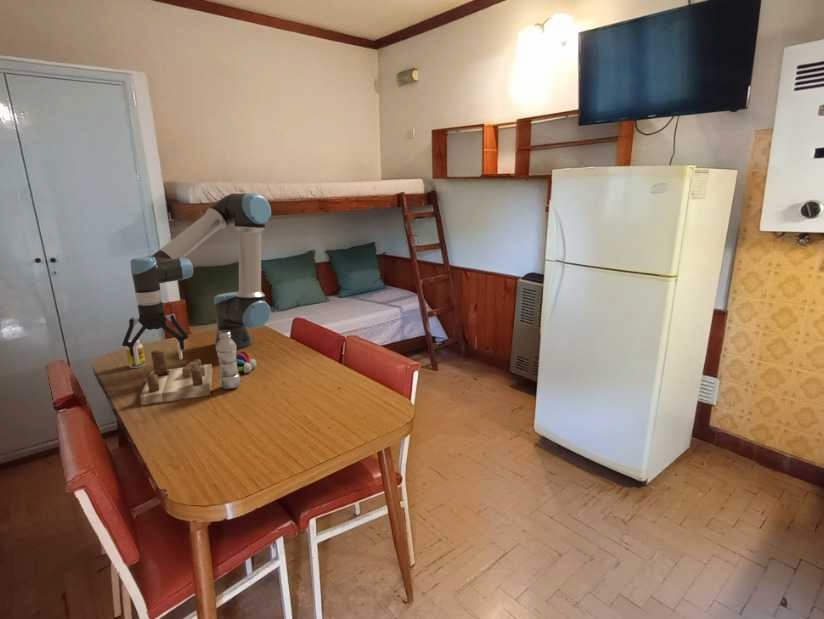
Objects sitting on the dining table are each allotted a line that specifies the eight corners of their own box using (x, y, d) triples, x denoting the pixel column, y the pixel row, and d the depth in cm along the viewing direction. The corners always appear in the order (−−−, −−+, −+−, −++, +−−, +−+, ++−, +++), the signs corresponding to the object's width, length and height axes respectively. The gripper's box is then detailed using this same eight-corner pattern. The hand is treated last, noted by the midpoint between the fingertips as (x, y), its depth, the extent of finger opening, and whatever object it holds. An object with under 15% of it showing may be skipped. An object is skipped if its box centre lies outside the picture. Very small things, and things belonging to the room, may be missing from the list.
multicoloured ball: (259, 366, 177) (257, 348, 175) (247, 376, 168) (245, 357, 166) (238, 365, 178) (236, 347, 176) (225, 375, 169) (223, 356, 167)
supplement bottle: (131, 369, 174) (127, 344, 172) (127, 365, 178) (123, 340, 175) (147, 365, 178) (143, 340, 175) (143, 362, 182) (139, 337, 179)
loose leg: (169, 378, 166) (164, 349, 163) (167, 382, 162) (163, 352, 159) (156, 379, 164) (152, 350, 162) (155, 383, 161) (150, 354, 158)
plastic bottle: (234, 392, 154) (228, 335, 149) (216, 390, 155) (209, 334, 150) (245, 384, 160) (239, 329, 155) (227, 382, 162) (221, 328, 157)
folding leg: (195, 366, 168) (194, 359, 167) (202, 366, 168) (201, 359, 167) (182, 376, 159) (181, 368, 158) (190, 376, 159) (189, 368, 158)
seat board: (212, 371, 172) (210, 351, 170) (209, 395, 152) (207, 372, 150) (152, 379, 165) (149, 358, 163) (141, 405, 145) (137, 381, 143)
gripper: (191, 296, 164) (199, 352, 169) (110, 303, 155) (121, 362, 161) (189, 301, 157) (197, 359, 162) (104, 309, 148) (116, 370, 154)
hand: (159, 361), depth 162 cm, fingers open, 13 cm apart
